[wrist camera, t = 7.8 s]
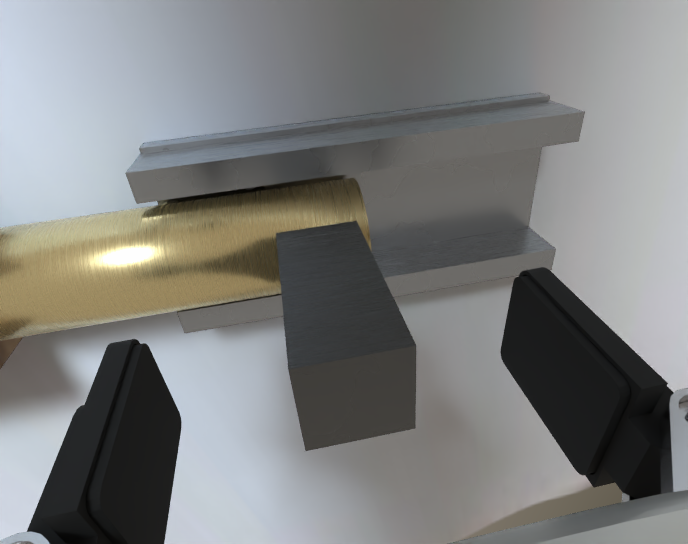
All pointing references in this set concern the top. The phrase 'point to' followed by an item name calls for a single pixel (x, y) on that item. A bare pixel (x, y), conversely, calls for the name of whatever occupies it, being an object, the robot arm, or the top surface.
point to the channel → (387, 187)
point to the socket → (7, 349)
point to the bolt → (235, 290)
